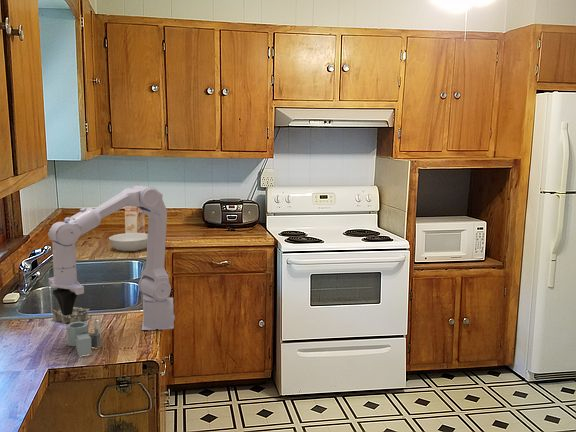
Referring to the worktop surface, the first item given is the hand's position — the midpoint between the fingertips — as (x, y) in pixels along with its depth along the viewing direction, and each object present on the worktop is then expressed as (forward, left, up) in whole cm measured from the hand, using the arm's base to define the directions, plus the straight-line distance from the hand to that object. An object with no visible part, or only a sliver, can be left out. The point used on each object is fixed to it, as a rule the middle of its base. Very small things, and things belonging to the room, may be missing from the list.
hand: (67, 314), depth 148 cm
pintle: (-7, -4, -10) cm, 13 cm away
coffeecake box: (-11, -152, -10) cm, 153 cm away
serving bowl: (-10, -125, -10) cm, 126 cm away
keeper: (-6, 0, -10) cm, 11 cm away
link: (-3, 0, -10) cm, 10 cm away
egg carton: (+3, -25, -10) cm, 27 cm away
